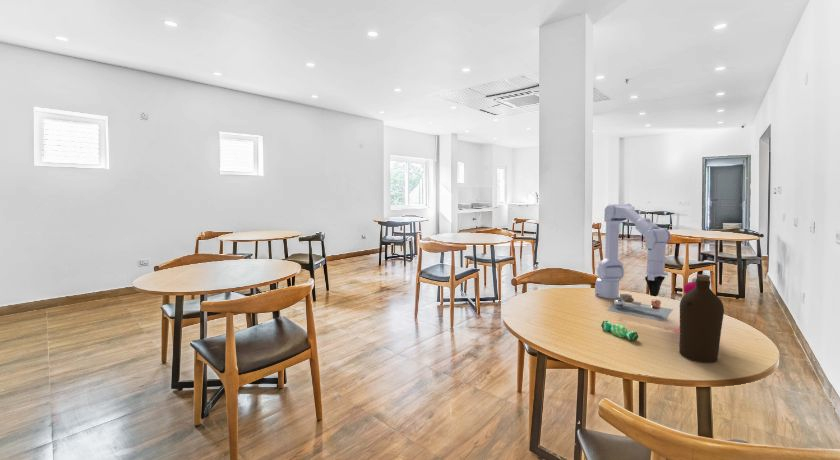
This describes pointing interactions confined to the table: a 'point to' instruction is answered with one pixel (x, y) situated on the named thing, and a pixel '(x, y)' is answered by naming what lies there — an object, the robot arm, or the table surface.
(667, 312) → the nutcracker base
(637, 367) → the table surface
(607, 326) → the candy
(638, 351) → the table surface
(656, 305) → the lever
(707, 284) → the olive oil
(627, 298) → the walnut
